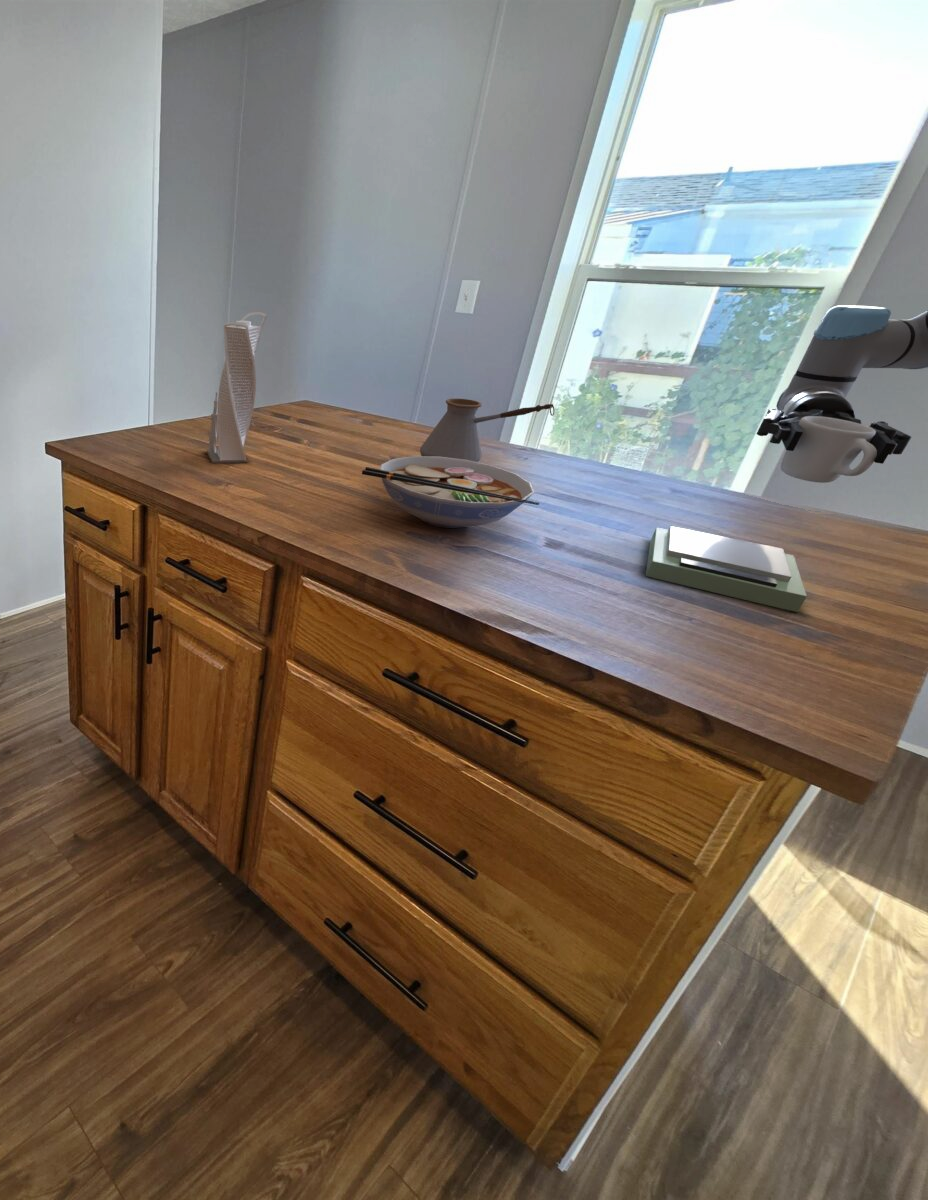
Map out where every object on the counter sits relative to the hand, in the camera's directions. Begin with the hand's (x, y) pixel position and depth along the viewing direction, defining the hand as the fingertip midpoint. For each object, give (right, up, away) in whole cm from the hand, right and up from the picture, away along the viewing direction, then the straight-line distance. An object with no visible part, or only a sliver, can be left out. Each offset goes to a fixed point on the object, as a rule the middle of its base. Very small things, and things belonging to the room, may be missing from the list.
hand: (838, 447), depth 90 cm
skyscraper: (-77, +8, +46) cm, 90 cm away
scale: (-15, -17, +3) cm, 23 cm away
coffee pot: (-29, +4, +40) cm, 50 cm away
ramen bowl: (-46, -8, +18) cm, 50 cm away
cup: (+3, -4, +6) cm, 8 cm away
